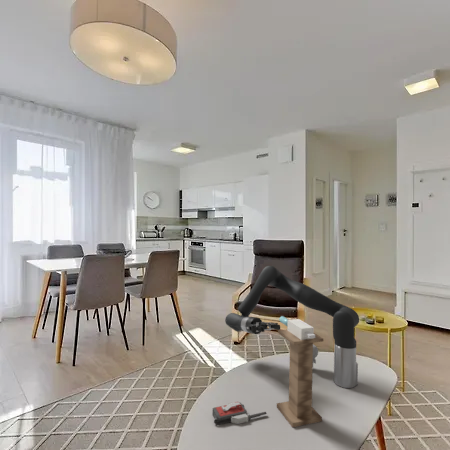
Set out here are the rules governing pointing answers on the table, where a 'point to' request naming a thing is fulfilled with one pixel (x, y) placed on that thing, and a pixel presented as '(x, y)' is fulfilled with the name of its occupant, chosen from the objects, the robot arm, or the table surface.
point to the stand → (300, 382)
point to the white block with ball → (298, 328)
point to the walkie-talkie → (232, 414)
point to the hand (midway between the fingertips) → (271, 328)
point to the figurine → (315, 353)
